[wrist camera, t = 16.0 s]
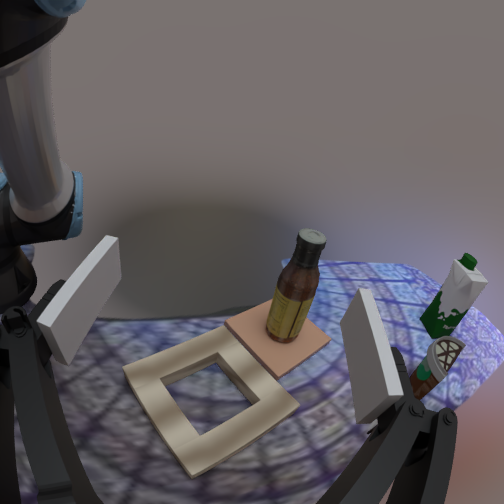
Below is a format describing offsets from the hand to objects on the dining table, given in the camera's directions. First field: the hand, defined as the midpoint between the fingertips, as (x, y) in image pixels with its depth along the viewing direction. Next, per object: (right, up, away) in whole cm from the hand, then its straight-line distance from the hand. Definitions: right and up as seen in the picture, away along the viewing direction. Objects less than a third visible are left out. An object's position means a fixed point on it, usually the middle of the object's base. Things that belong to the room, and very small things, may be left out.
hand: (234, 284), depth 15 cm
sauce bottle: (+6, -13, +35) cm, 37 cm away
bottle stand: (-5, -19, +22) cm, 30 cm away
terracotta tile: (+6, -13, +35) cm, 38 cm away
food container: (+33, -24, +30) cm, 50 cm away
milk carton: (+46, -17, +44) cm, 66 cm away
